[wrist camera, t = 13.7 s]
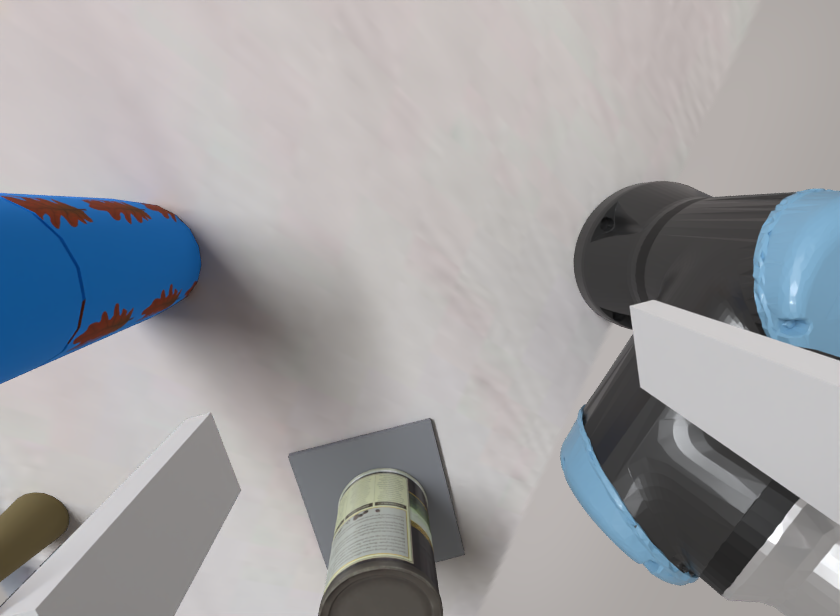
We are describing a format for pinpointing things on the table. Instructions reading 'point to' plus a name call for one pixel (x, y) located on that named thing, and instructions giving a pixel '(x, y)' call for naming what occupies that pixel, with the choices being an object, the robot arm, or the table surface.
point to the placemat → (391, 448)
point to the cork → (29, 529)
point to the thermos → (84, 273)
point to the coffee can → (382, 550)
